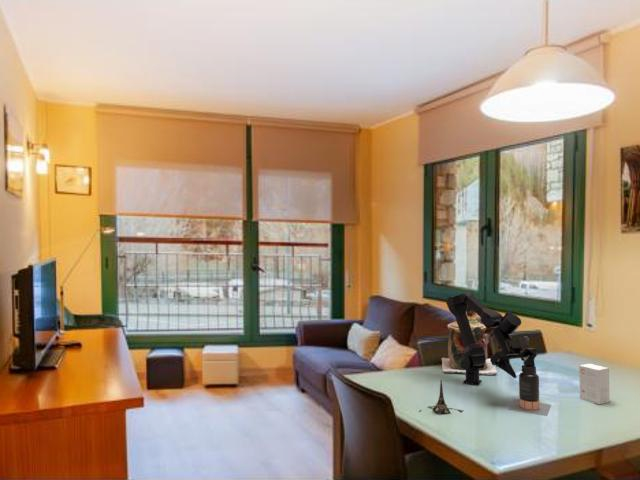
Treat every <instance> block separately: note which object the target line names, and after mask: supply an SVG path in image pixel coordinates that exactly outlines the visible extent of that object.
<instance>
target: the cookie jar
mask: <svg viewBox="0 0 640 480" xmlns="http://www.w3.org/2000/svg"><path fill="white" fill-rule="evenodd" d="M466 315H467V318H468V321H469V324H470V327H471V330H472V333H473V336H474V339H475V342H476V344H477V345H478V346H479V347H482V348H483V350H484V353H485V355H486V356H485V357H486V361H485V365H484V368H483V369H479V375H488V376H493V375H495V374H497V373H498V370H497V369H496V366H495V365H492V363H491V361H490V359H491V358H488V344H489V341H490V340H489V334H488V333H486V332H485V331H486V330H487V328H486V327H485V326H484V324H483V323H482V322H481V321H479V320H478V319H477V317H476V316H477V314H476V313H475V312H474V311H473V310H472V309H471V308H470V307H469V306H468V305H467V311H466ZM446 326H447V329H448V331H449V333H448V343H447V356H448V357H442V358H441V362H442V363H441V367H442V368H441V369H442V372H443V373H462V374H466V370H465V369H463V368H461V365H460V363H461V361H462V360H463V359H464V350H465V345H464V342H463V339H462V336H461V333H460V330H459V327H458V324H457V321H456V320H455V321H453V322H451V323H447V325H446Z"/></svg>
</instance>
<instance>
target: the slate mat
mask: <svg viewBox="0 0 640 480" xmlns="http://www.w3.org/2000/svg"><path fill="white" fill-rule="evenodd" d="M551 407H552V404H549V403H541V402H540V409H539V410H527V409H523V408H521V407H520V399H517V398H514V399H513V400H512V402H511V404H510V406H509V407H508V409H507V410H509V411H515V412H521V413H526V414H531V415H538V416H544V417H548V415H549V412H550V409H551Z"/></svg>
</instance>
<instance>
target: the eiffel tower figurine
mask: <svg viewBox="0 0 640 480" xmlns="http://www.w3.org/2000/svg"><path fill="white" fill-rule="evenodd" d="M439 381H440V383H439V386H440V387H439V395H438V401H437V402H435V405H428V406H427V407H426V408H427V409H429V410H431V411H432V412H433V413H435V414H436V415H437V416H443V415H444V416H445V415H452V412H451V411H450V410H455V411H458V412H459V413H463V412H464V410H463V409H457V408H452V407H448V404H446V401H445V397H444V391H443V390H444V389H443V379H442V378H441V379H440V380H439ZM421 412H422V409H420V410H419V411H418V413H421Z"/></svg>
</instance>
